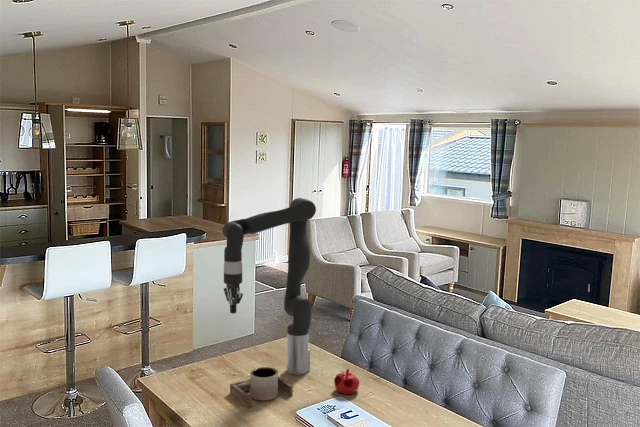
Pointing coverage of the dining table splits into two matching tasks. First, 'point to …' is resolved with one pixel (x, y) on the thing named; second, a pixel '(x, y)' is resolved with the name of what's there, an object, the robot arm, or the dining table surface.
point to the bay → (240, 387)
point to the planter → (264, 383)
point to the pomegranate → (346, 382)
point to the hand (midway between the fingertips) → (233, 312)
